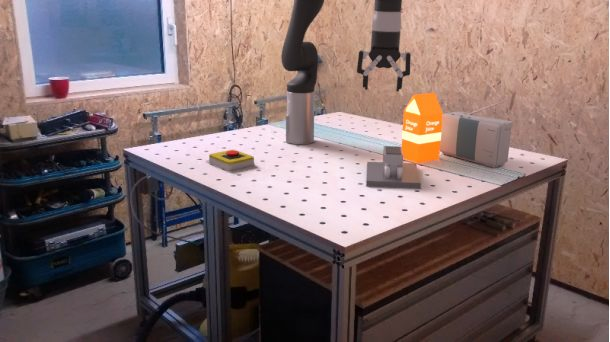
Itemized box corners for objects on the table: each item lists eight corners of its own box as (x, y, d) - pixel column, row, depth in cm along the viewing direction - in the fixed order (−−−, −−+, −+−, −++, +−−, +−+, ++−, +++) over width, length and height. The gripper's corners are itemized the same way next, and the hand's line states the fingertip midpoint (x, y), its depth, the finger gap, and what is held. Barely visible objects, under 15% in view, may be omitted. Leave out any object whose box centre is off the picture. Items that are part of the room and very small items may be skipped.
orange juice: (439, 159, 170) (444, 94, 164) (417, 163, 165) (422, 96, 159) (421, 153, 176) (426, 90, 170) (400, 157, 172) (404, 92, 166)
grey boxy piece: (383, 176, 148) (384, 153, 146) (382, 166, 157) (383, 145, 155) (402, 176, 148) (403, 154, 146) (400, 167, 156) (401, 146, 154)
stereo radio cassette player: (436, 154, 175) (441, 91, 170) (453, 150, 180) (458, 88, 174) (494, 170, 160) (501, 101, 154) (510, 165, 164) (518, 98, 158)
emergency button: (231, 159, 154) (203, 148, 165) (231, 174, 156) (204, 163, 167) (258, 153, 160) (229, 143, 171) (258, 168, 161) (230, 157, 172)
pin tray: (366, 186, 145) (366, 169, 144) (367, 166, 162) (367, 151, 161) (420, 188, 143) (421, 171, 142) (415, 168, 160) (416, 153, 159)
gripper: (358, 29, 144) (355, 91, 149) (414, 31, 143) (408, 93, 148) (359, 27, 151) (356, 86, 157) (412, 29, 150) (407, 89, 155)
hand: (381, 90), depth 152 cm, fingers open, 8 cm apart
